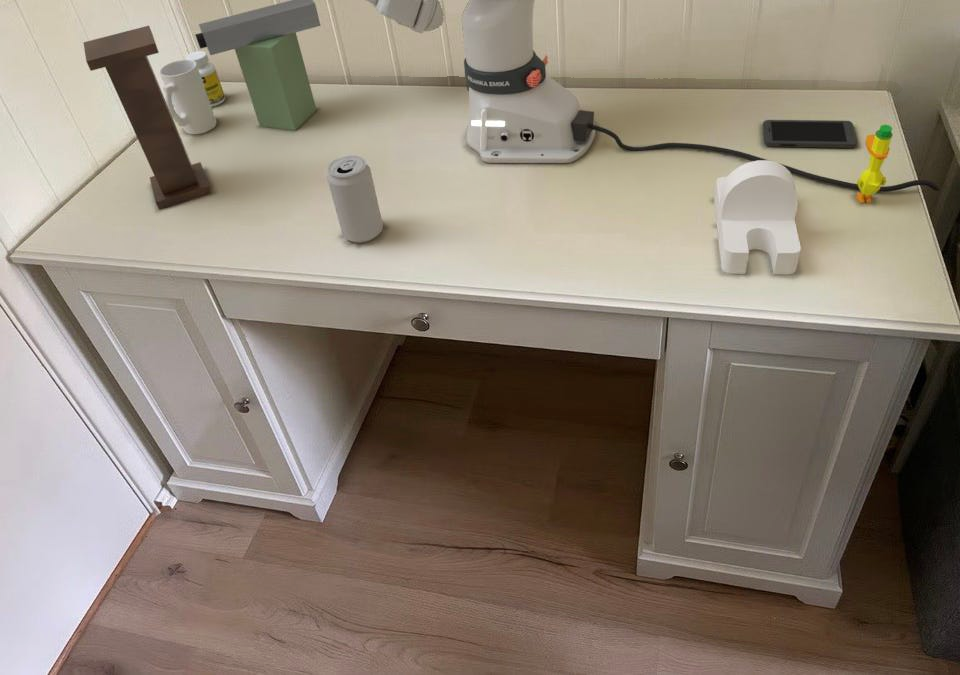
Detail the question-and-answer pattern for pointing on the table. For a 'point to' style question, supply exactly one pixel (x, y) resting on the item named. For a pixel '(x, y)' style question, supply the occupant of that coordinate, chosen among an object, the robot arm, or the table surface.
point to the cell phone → (809, 133)
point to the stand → (148, 114)
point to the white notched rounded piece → (757, 216)
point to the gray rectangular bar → (257, 25)
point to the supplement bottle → (208, 77)
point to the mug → (187, 96)
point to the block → (277, 82)
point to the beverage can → (355, 198)
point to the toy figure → (874, 163)
